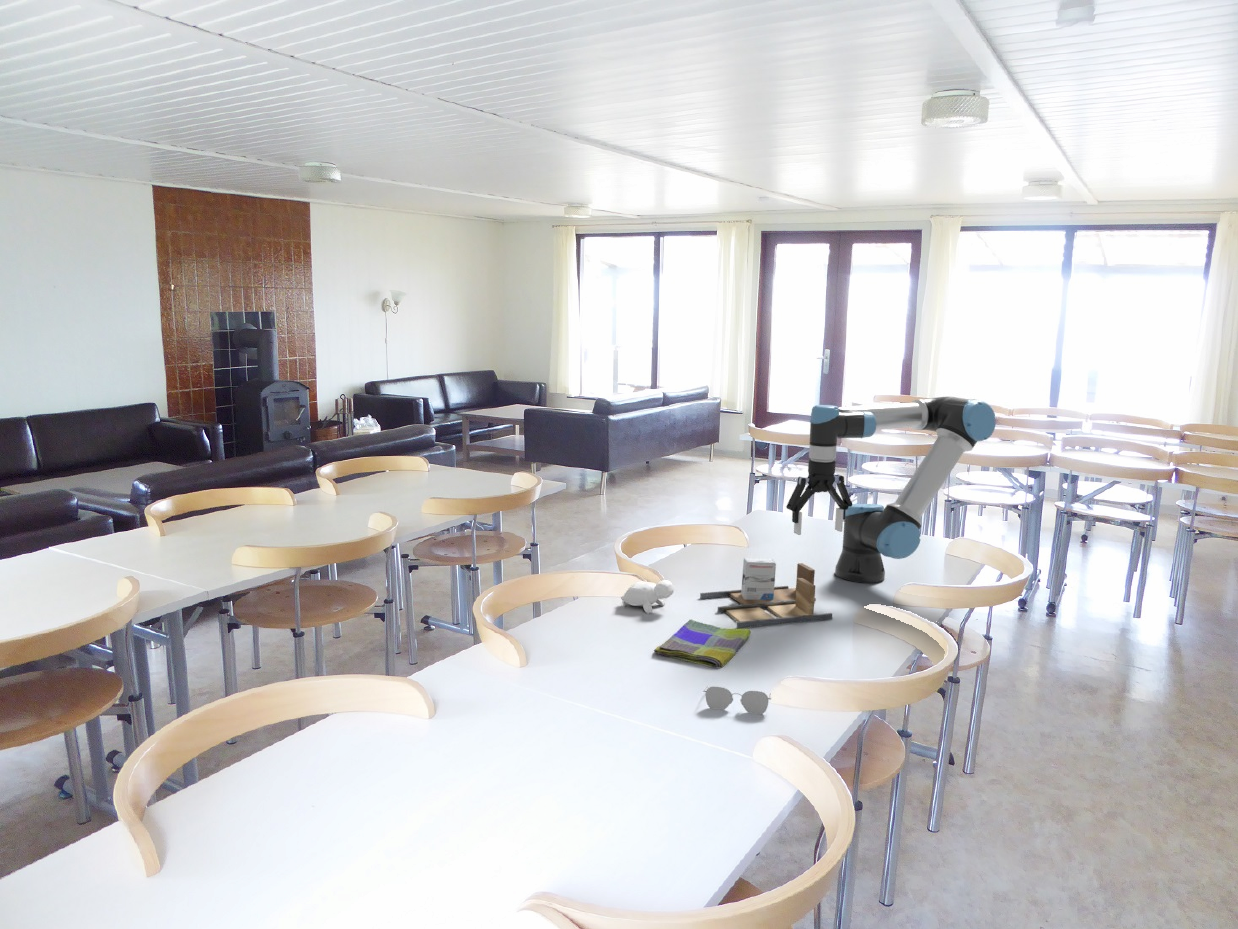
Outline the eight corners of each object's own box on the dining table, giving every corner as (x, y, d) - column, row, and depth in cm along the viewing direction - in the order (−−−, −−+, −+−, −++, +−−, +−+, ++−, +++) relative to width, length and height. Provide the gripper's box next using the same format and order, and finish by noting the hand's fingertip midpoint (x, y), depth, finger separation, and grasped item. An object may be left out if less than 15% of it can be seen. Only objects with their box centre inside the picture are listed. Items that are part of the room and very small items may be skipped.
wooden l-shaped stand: (797, 606, 238) (799, 576, 236) (816, 618, 228) (818, 587, 227) (726, 613, 231) (727, 582, 229) (742, 625, 222) (744, 593, 220)
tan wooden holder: (798, 590, 251) (799, 561, 249) (815, 601, 242) (817, 571, 240) (730, 596, 244) (731, 566, 243) (745, 607, 235) (747, 577, 233)
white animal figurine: (624, 618, 234) (669, 609, 225) (615, 589, 234) (659, 579, 226) (639, 610, 241) (684, 601, 233) (631, 581, 241) (675, 571, 233)
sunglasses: (702, 709, 175) (703, 685, 174) (706, 698, 183) (707, 675, 183) (770, 717, 172) (771, 692, 172) (771, 706, 180) (772, 682, 180)
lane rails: (786, 590, 251) (787, 585, 251) (832, 619, 228) (832, 613, 228) (700, 598, 243) (700, 593, 243) (737, 628, 220) (738, 623, 219)
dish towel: (754, 638, 214) (754, 628, 214) (719, 672, 193) (720, 661, 193) (690, 625, 222) (690, 615, 222) (650, 657, 201) (650, 646, 201)
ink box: (769, 597, 245) (772, 558, 243) (773, 603, 240) (776, 562, 238) (740, 596, 244) (743, 557, 242) (743, 602, 239) (746, 562, 237)
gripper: (852, 455, 248) (848, 526, 252) (776, 459, 240) (773, 531, 244) (867, 460, 241) (862, 532, 245) (790, 463, 233) (786, 538, 237)
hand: (818, 532), depth 244 cm, fingers open, 13 cm apart
